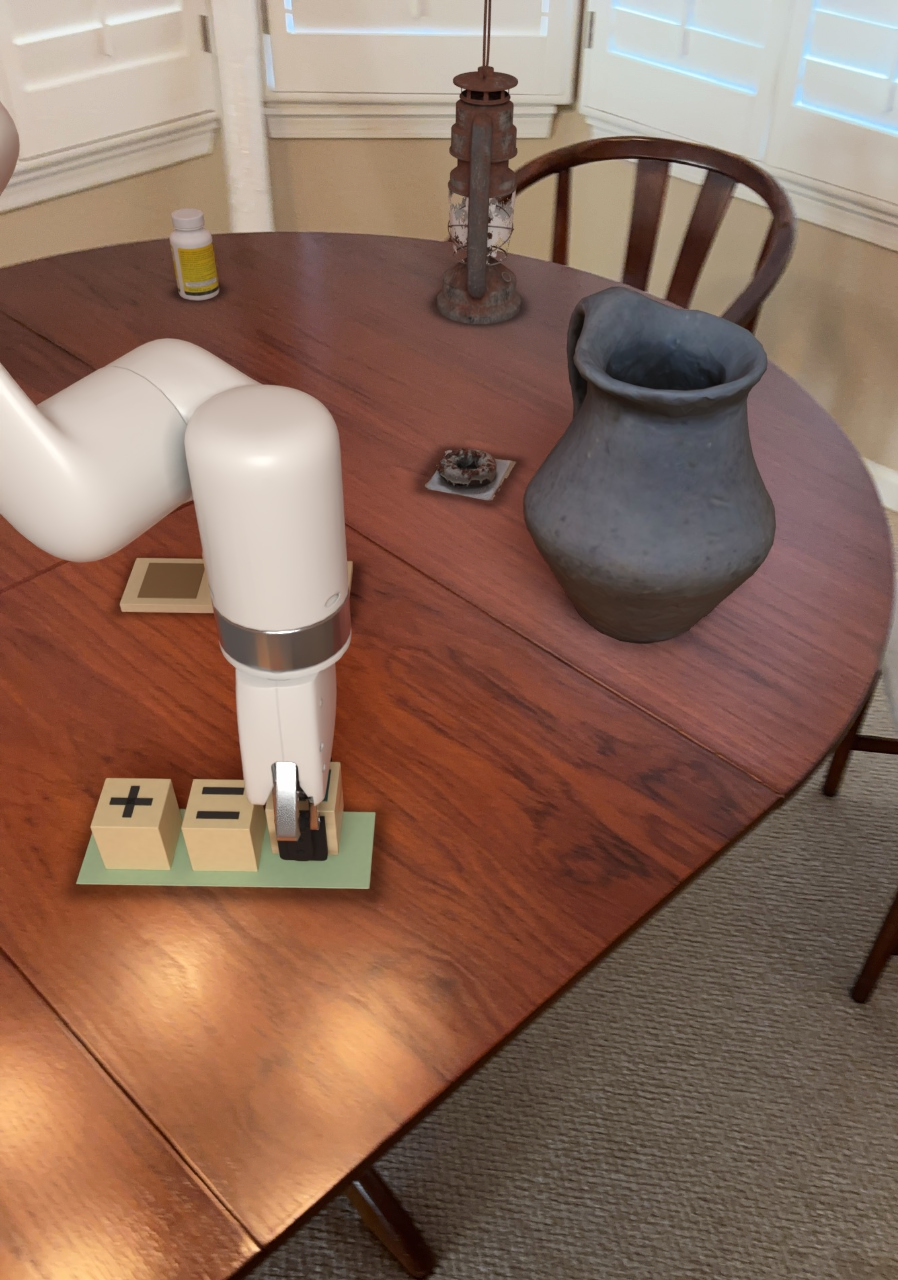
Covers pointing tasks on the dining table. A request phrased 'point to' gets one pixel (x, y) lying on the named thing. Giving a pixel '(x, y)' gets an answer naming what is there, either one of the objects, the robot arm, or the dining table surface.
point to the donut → (470, 473)
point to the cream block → (328, 808)
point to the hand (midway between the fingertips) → (308, 825)
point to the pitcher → (652, 468)
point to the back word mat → (172, 586)
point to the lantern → (482, 196)
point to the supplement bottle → (193, 255)
